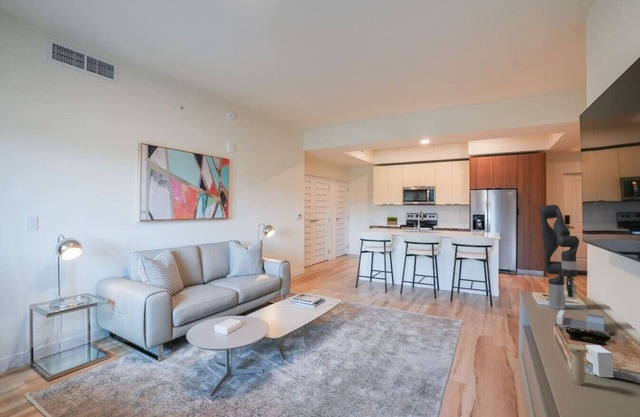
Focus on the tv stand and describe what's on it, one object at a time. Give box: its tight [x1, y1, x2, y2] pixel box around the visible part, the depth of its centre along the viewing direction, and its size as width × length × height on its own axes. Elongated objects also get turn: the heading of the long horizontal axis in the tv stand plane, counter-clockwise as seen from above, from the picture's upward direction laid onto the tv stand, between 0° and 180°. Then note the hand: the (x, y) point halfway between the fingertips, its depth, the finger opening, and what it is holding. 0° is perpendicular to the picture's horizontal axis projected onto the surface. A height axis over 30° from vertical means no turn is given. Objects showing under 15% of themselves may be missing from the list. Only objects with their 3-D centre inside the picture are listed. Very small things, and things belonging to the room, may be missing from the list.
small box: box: [584, 344, 615, 378], centre depth 132 cm, size 8×6×10 cm
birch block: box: [564, 283, 578, 301], centre depth 186 cm, size 4×6×8 cm, turn 46°
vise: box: [554, 309, 610, 334], centre depth 182 cm, size 16×24×6 cm, turn 46°
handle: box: [566, 343, 588, 386], centre depth 125 cm, size 5×6×15 cm
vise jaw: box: [585, 313, 606, 332], centre depth 178 cm, size 16×8×4 cm, turn 136°
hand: (570, 295), depth 186 cm, fingers closed on birch block, 4 cm apart
